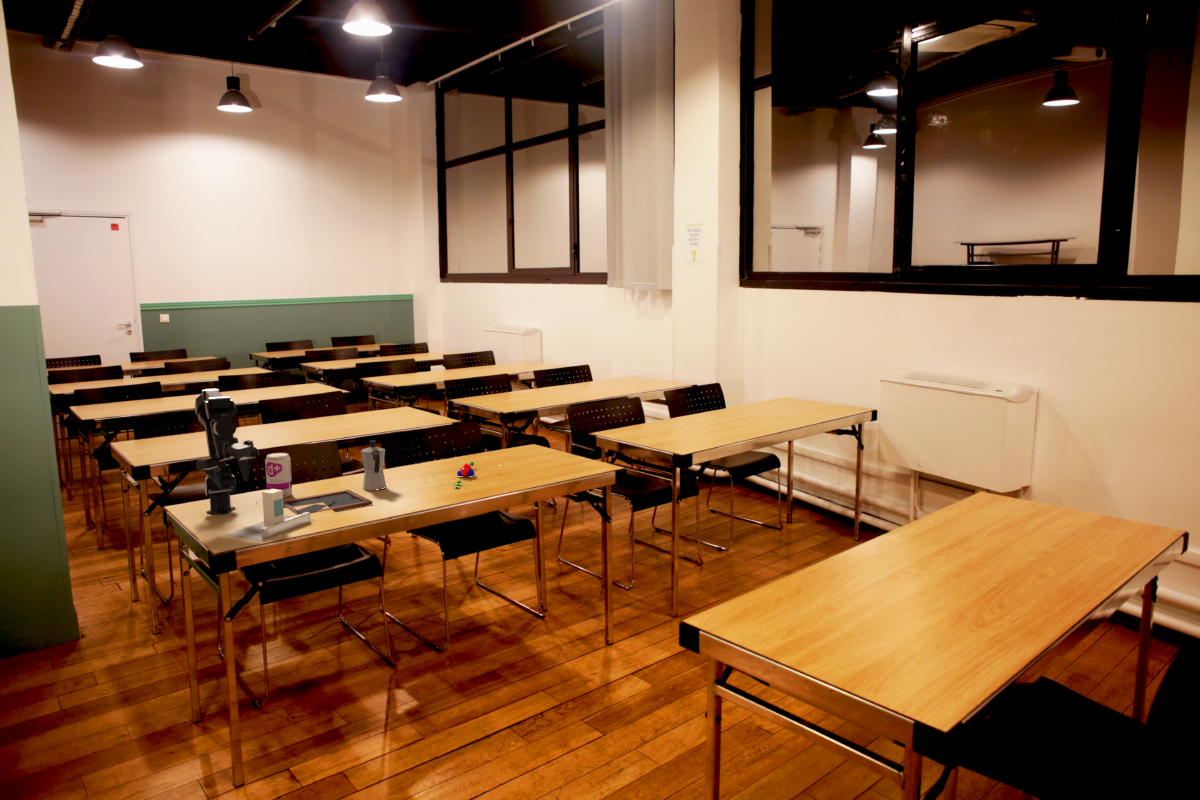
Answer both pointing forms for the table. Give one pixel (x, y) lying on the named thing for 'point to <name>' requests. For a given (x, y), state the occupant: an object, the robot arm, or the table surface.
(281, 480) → the supplement can
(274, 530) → the rail
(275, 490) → the carton
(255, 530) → the shelf board
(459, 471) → the atom model
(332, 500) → the picture frame
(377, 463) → the coffee maker
